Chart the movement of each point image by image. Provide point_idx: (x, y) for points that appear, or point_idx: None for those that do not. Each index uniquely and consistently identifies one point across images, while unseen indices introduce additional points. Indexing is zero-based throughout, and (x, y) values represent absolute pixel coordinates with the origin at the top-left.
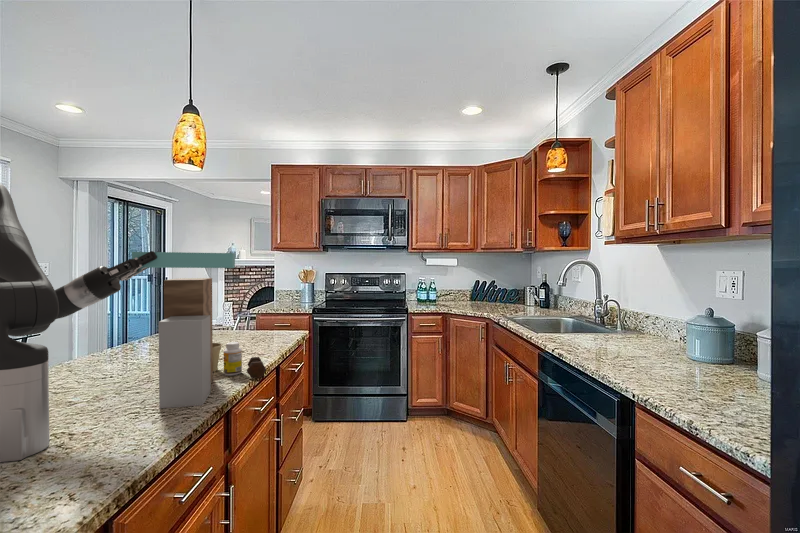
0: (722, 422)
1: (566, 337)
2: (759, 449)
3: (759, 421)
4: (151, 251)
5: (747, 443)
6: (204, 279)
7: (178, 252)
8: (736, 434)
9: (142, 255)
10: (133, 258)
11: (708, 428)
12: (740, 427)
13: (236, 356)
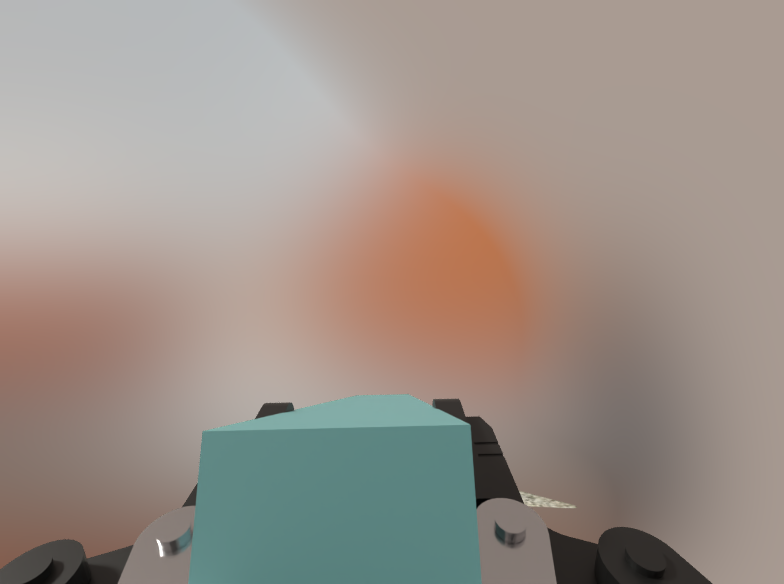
0: (527, 500)
1: None
2: (571, 505)
3: (523, 492)
4: (457, 402)
5: (563, 505)
6: None
7: (419, 400)
8: (548, 503)
9: (477, 458)
10: (470, 545)
11: (540, 506)
12: (535, 499)
13: None
